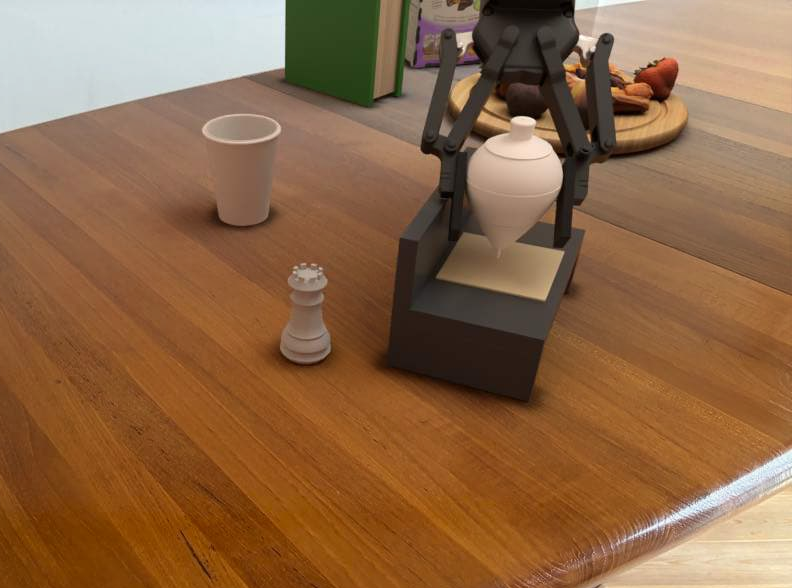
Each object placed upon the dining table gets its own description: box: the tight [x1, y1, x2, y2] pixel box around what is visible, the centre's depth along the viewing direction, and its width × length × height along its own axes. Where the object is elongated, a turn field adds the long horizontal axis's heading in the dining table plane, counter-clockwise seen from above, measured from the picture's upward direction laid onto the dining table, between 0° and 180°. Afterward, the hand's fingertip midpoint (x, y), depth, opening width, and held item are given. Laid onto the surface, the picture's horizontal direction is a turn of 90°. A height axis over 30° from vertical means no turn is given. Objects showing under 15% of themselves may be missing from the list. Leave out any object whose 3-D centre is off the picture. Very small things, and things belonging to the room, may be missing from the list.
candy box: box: [405, 0, 482, 69], centre depth 132 cm, size 14×6×16 cm, turn 100°
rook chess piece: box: [279, 262, 332, 365], centre depth 69 cm, size 4×4×8 cm
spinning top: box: [464, 116, 563, 259], centre depth 67 cm, size 8×8×12 cm
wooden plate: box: [447, 56, 689, 155], centre depth 114 cm, size 32×32×8 cm
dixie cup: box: [201, 113, 282, 227], centre depth 90 cm, size 8×8×10 cm
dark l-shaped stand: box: [385, 146, 586, 403], centre depth 71 cm, size 12×20×12 cm, turn 154°
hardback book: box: [284, 0, 410, 108], centre depth 120 cm, size 18×7×24 cm, turn 42°
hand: (507, 239), depth 66 cm, fingers closed on spinning top, 8 cm apart
